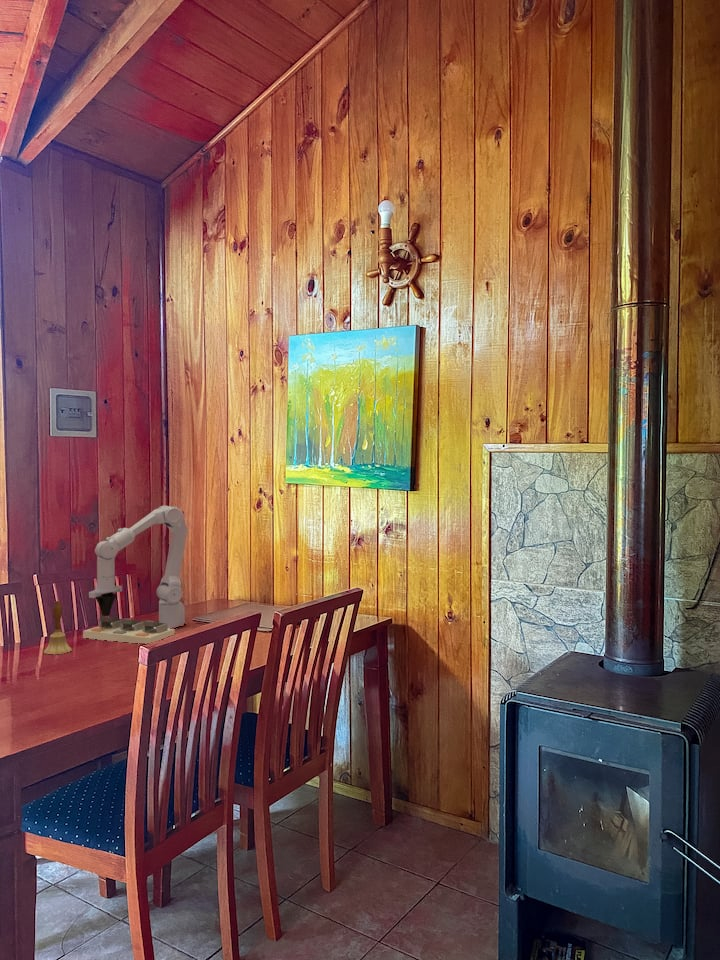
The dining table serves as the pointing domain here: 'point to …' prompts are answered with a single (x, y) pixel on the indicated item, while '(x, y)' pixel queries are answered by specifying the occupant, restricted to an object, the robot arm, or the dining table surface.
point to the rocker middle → (130, 621)
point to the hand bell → (57, 635)
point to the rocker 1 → (108, 619)
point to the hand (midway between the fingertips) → (105, 615)
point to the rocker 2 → (152, 623)
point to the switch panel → (128, 632)
